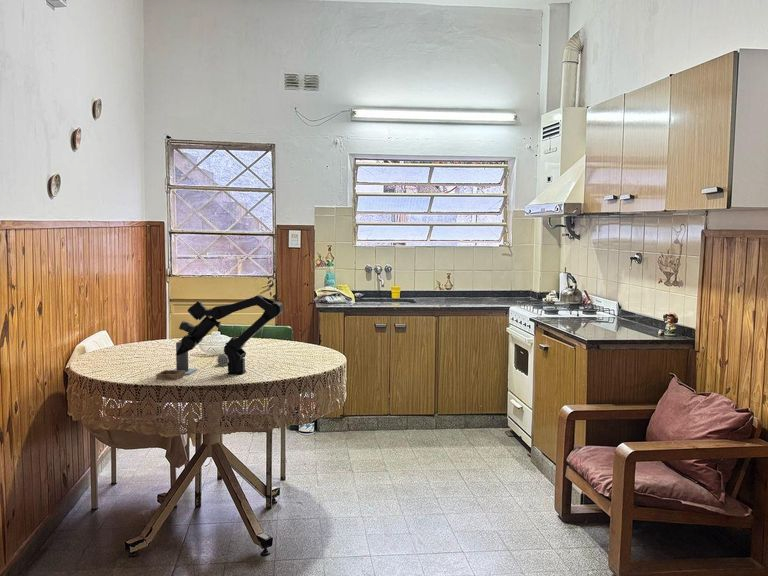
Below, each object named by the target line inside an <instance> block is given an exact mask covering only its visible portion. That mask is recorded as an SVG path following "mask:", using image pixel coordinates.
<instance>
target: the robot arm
mask: <svg viewBox="0 0 768 576" xmlns="http://www.w3.org/2000/svg"><path fill="white" fill-rule="evenodd" d="M255 306H257V307H259V308H260V309H262V310H264V311H263V313H262V314H261V315H260V317H258V319H257V320H255V321H254V323H252V324H251V325H249V327H248V328H247V329H246V330H245V331H244V332H243V333H241V334H240V335H239V336H238V337H237V335H234V336H233V337H231V338H230V339H229V340H228V341H227V342H225V346H224V347H223V354H224V353H225V354H226V355H227V357H228V360H229V362H228V365H227V374H228V375H243V374H245V373H246V372H247V370H246V355H247V352H246V351H245V350H244V349H243V348H244V347H245V345H246V344H247V342H249V340H251V339H252V337H254V335H256V334H257V333H258V332H259V331H260V330H261V329H262V328H263V327H264V326H266V325H267V324H268V323H269V322H270V321H272V320H273V319H275V318H276V317H278V316H280V315H282V314H283V312H284V311H285V309H284V305H283V303H282V302H280V301H274V300H272V299H270V298H268V297H265V296H263V295H261V294H257V295H255V296H253V297H250V298H246V299H243V300H241V301H237V302H234V303H229V304H228V303H227V304H221V305H220V304H219V305H216V306H214V307H212V308H206V307H205V305H204V304H203V303H202V301H200V300H198V301H196V302H195V303H194V304H192V305H191V306H190V307H189V308H188V309H187V312H188V313H189V314H190V316H192V318H193V319H194V320H195V321H198V320H199V321H200V322H199V323H198V324H196V325H194V324H193V323H190V322H188V321H186V320H183V321H181V322H180V324H179V327H178V329H179V330H181V331H183V332H186V333H187V334H186V335H184V336H183V337H181V339H180V340H181V343H182V345H181V346H180V348H179V349H178V351H177V353H176V352H175V356H176V355H177V356H178V355H180V354H183V353H185V352H187V351H188V352H190V351H191V350H193V349H194V348H195V347H196V346H197V345H199V344H200V343H201V342H202V341H203V339H204V338H205V337H206V336H207V335H209V333H210V332H211V331H212V330H213V329H214V328H215V327H216V329H219V328H221V327H222V326H221V321H218V320H221V319H223V318H226V317H228V316H229V315H231V314H233V313H235V312H237V311H238V312H239V311H242V310H245V309H248V308H250V307H255Z"/></svg>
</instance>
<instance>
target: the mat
mask: <svg viewBox="0 0 768 576" xmlns="http://www.w3.org/2000/svg"><path fill="white" fill-rule="evenodd" d="M173 370H176V368H174V369H173ZM197 371H198V368H188V371H187V372H185V376H190V375H191V374H194V373H195V372H197Z"/></svg>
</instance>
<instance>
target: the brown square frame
mask: <svg viewBox="0 0 768 576" xmlns="http://www.w3.org/2000/svg"><path fill="white" fill-rule="evenodd" d="M155 376H156V378H155V379H156V380H175V381H177V380H179V379H181V378H183V377H185V376H186V375H185V371H181V370H174V369H172V370H171V369H164V370H162V371H160V372H158V373H156V375H155Z"/></svg>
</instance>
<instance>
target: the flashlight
mask: <svg viewBox="0 0 768 576" xmlns="http://www.w3.org/2000/svg"><path fill="white" fill-rule="evenodd" d="M216 358H217V363H218V365H220V366H221V367H223V366H224V367H225V366H228V362H229V360H228V357H227V355H226V354H225V353H224V352H223V353H221V354H218V356H217V357H216Z"/></svg>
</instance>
